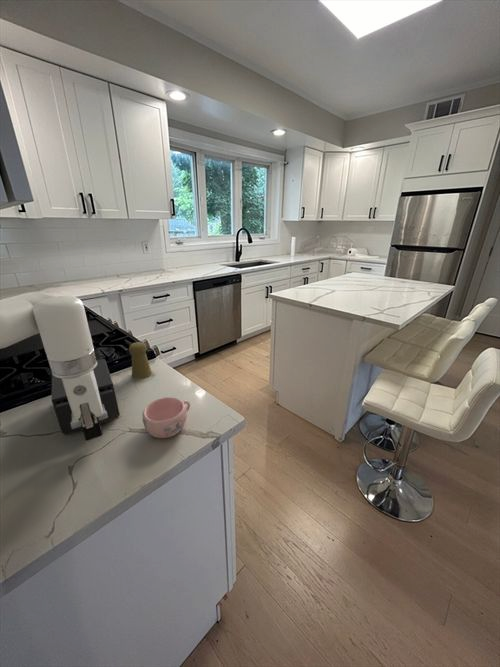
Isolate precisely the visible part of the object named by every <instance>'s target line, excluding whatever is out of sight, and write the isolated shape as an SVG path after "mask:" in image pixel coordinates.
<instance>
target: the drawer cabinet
mask: <svg viewBox="0 0 500 667" xmlns="http://www.w3.org/2000/svg"><path fill="white" fill-rule="evenodd" d="M96 360H97V366H96V367H95V368H94V369H93V371H94V375H95V378H96V382H97V386H98V390H101V389H105V388H108V390H111V389H112V392H113V396H114V401H115V406H116V410H117V415H118V416H120V409H119V406H118V400H117V396H116V391H115V387H114V386H115V385H114V381H113V379H112V376H111V374H110V370H109V368H108V365H107V362H106V359H105V358H100V359H96ZM65 399H68V398H67V395H66V392H65V388H64V385H63V381H62V378H58V377H55V376H53V374H52V373H51V404H52V407H53V409H54V412H55V415H56V419H57V422H58V425H59V428H60V431H61V434H64V432H63V429H62V426H61V422H60V419H59V416H58V413H57V410H56V404H60V401H61V400H65Z"/></svg>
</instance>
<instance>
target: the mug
mask: <svg viewBox="0 0 500 667" xmlns="http://www.w3.org/2000/svg"><path fill="white" fill-rule="evenodd" d="M190 408H191V404H190V401H189V400H187V399H185V400H183V401H182V400H181V399H179V398H176V397H171V396H170V397H169V396H166V397H161V398H160V397H159V398H157V399H154V400H153V401H151V402H150V403H148V404H147V405H146V406H145V407H144V409H143V411H142V423H143V427H144V428H145V430H146V431H147V432H148V434H149V435H151V436H152V437H154V438H157V439H168V438H171V437H173V436H176V434H178V433H180V432H181V430H182V429H183V428H184V425H185V423H186V421H187V417H188V416H187V415H188V411H189V410H190Z"/></svg>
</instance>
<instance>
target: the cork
mask: <svg viewBox="0 0 500 667" xmlns="http://www.w3.org/2000/svg"><path fill="white" fill-rule="evenodd" d="M147 351H148V348H147V344H146V343H144V342H142V341H137V342H132V343H131V344H130V345H129V347H128V352H129V354H130V355H131V377H132V378H133V379H134V380H144V379H147V378H149V377H151V376H152V369H151V365H150V363H149V359H148V356H147Z"/></svg>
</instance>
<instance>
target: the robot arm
mask: <svg viewBox="0 0 500 667" xmlns="http://www.w3.org/2000/svg"><path fill="white" fill-rule="evenodd" d="M38 334H39V335H40V338H41V341H42V346H43V348H44V352H45V355H46V358H47V361H48V364H49V368H50V371H51V375H52V374H53V376H55V377H58V378H62V381H63V385H64V388H65V392H66V395H67V398H68V401H69V404H70V407H71V410H72V413H73V416H74V419H75V421H76V422H78V423H80V421H81V424H82V425H81V426H82V430H81V431H82V433H83V436H84V440H85V441H87V442H88V441H90V440H94V439H97V438H99V437H102V436H103V432H102V427H101V423H99V419H98V416H102V415H103V408H102V404H101V399H100V395H99V391H98V386H97V382H96V378H95V375H94V371H93V369H94V368H95V367H96V366H97V360H98V359H97V357H96V356H97V355H96V352H95V348H94V344H93V339H92V335H91V330H90V327H89V323H88V317H87V314H86V309H85V305H84V303H83V301H82V299H80V298H78V297H77V296H72V295H57V296H56V295H53V294H48V293H44V292H40V291H31V292H29V291H28V292H25V293H20V294H17V295H14V296H10V297H5V298H2V299H0V350H1V349H5V348H7V347H10V346H13V345H15V344H18V343H19V342H22V341H23V340H26V339H28V338H31V337H33V336H35V335H36V336H37V335H38Z"/></svg>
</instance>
